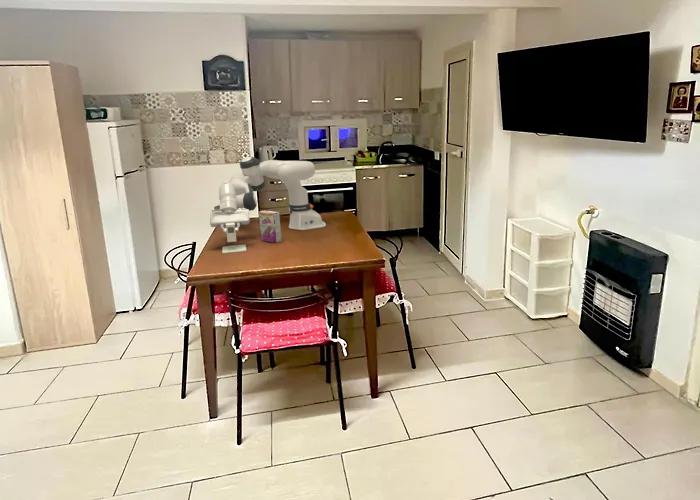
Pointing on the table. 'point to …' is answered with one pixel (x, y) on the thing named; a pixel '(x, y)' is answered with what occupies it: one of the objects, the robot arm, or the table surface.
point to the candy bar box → (270, 226)
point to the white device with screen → (231, 232)
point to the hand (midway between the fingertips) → (231, 231)
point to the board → (233, 249)
